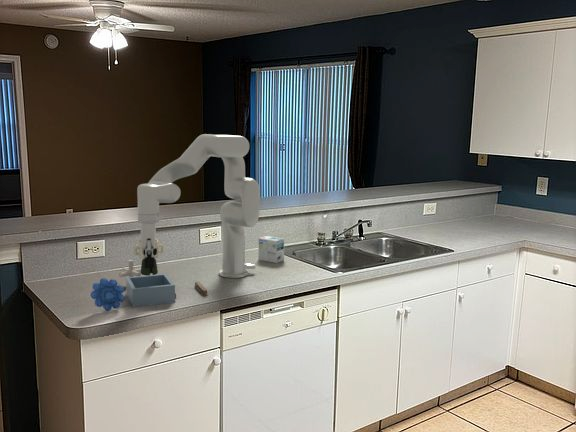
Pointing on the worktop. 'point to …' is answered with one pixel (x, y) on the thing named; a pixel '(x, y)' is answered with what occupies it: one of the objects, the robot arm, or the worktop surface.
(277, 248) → the light bulb box
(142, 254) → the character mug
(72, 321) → the worktop surface
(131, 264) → the pipe connector
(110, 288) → the blue flower
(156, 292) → the bin
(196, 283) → the seat rails
